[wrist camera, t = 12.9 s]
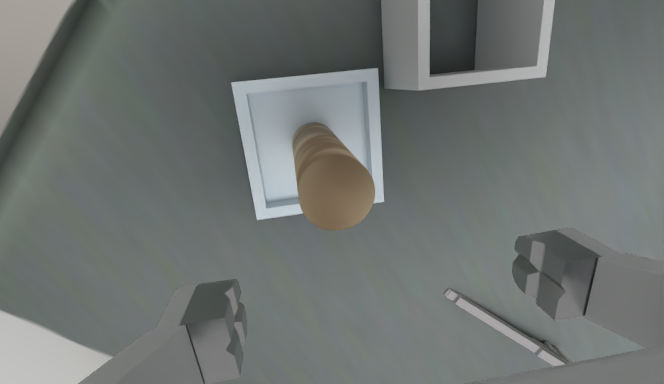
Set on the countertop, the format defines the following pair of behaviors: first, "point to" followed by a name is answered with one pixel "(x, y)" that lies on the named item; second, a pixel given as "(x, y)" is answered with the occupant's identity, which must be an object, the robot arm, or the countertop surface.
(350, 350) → the countertop surface
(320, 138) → the dowel
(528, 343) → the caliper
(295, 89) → the tray
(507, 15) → the white open box
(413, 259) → the countertop surface
